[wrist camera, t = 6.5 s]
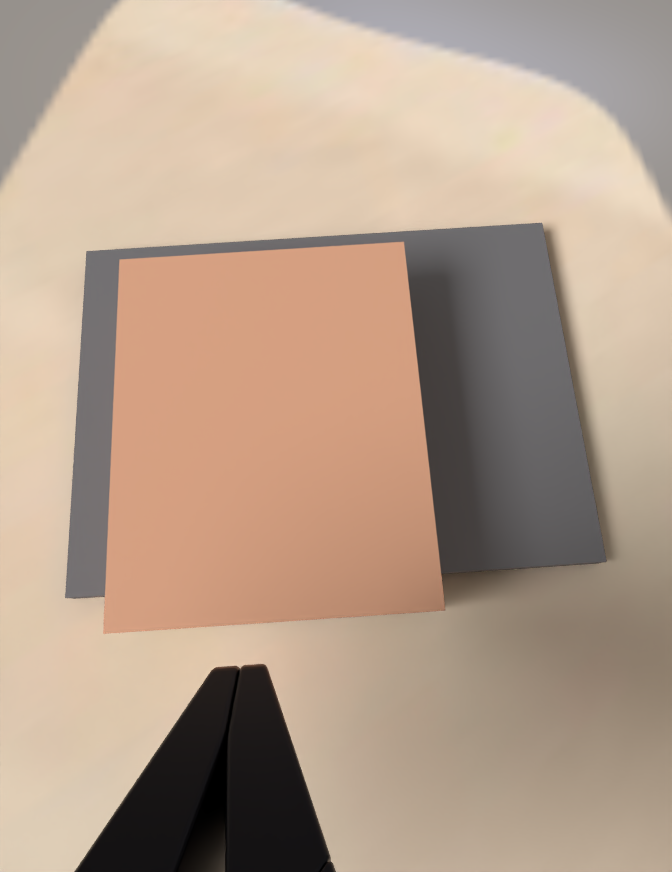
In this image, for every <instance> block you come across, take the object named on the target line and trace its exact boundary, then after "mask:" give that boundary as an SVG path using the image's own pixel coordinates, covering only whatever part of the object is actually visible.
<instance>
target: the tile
mask: <svg viewBox="0 0 672 872" xmlns="http://www.w3.org/2000/svg"><path fill="white" fill-rule="evenodd" d="M444 610H445V603H444V594H443V585H442V577H441V568H440V559H439V550H438V541H437V532H436V523H435V514H434V505H433V496H432V488H431V479H430V470H429V461H428V452H427V443H426V434H425V425H424V416H423V408H422V399H421V390H420V381H419V372H418V363H417V354H416V345H415V336H414V328H413V319H412V310H411V301H410V292H409V283H408V274H407V265H406V256H405V248H404V242H391V243H375V244H359V245H343V246H327V247H312V248H296V249H280V250H264V251H248V252H232V253H216V254H200V255H184V256H168V257H152V258H136V259H120V260H119V283H118V306H117V329H116V352H115V375H114V399H113V422H112V445H111V468H110V491H109V514H108V538H107V561H106V584H105V607H104V630H103V634H106V633H121V632H136V631H151V630H166V629H181V628H195V627H210V626H225V625H239V624H254V623H269V622H284V621H298V620H313V619H328V618H342V617H357V616H372V615H387V614H401V613H416V612H431V611H444Z"/></svg>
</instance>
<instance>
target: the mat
mask: <svg viewBox="0 0 672 872" xmlns="http://www.w3.org/2000/svg"><path fill="white" fill-rule="evenodd" d="M391 242H404V248H405V256H406V265H407V274H408V283H409V292H410V301H411V310H412V319H413V328H414V336H415V345H416V354H417V363H418V372H419V381H420V390H421V399H422V408H423V416H424V425H425V434H426V443H427V452H428V461H429V470H430V479H431V488H432V496H433V505H434V514H435V523H436V532H437V541H438V550H439V559H440V568H441V574H448V573H462V572H477V571H492V570H507V569H522V568H537V567H552V566H566V565H581V564H596V563H602V562H607V561H606V556H605V551H604V546H603V540H602V535H601V530H600V525H599V519H598V514H597V509H596V503H595V498H594V493H593V488H592V482H591V477H590V472H589V467H588V461H587V456H586V451H585V446H584V440H583V435H582V430H581V425H580V419H579V414H578V409H577V404H576V398H575V393H574V388H573V383H572V377H571V372H570V367H569V361H568V356H567V351H566V346H565V340H564V335H563V330H562V325H561V319H560V314H559V309H558V304H557V298H556V293H555V288H554V283H553V277H552V272H551V267H550V262H549V256H548V251H547V246H546V241H545V235H544V230H543V225H542V223H532V224H516V225H500V226H484V227H468V228H452V229H436V230H420V231H404V232H388V233H372V234H356V235H340V236H324V237H308V238H292V239H276V240H260V241H244V242H228V243H212V244H196V245H180V246H163V247H147V248H131V249H115V250H99V251H87V252H86V269H85V285H84V301H83V317H82V334H81V350H80V366H79V382H78V399H77V415H76V431H75V448H74V464H73V480H72V496H71V513H70V529H69V545H68V562H67V578H66V594H65V598H73V599H76V598H91V597H105V584H106V561H107V538H108V514H109V491H110V468H111V445H112V422H113V399H114V375H115V352H116V329H117V306H118V283H119V260H120V259H136V258H152V257H168V256H184V255H200V254H216V253H232V252H248V251H264V250H280V249H296V248H312V247H327V246H343V245H359V244H375V243H391Z"/></svg>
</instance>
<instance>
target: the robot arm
mask: <svg viewBox="0 0 672 872" xmlns="http://www.w3.org/2000/svg"><path fill="white" fill-rule="evenodd" d="M75 872H336V871H335V868H334V865H333V863H332V862H331V857H330V854H329V851H328V848H327V845H326V842H325V839H324V836H323V833H322V830H321V827H320V824H319V821H318V818H317V815H316V812H315V809H314V806H313V803H312V800H311V797H310V794H309V791H308V788H307V785H306V782H305V779H304V776H303V773H302V770H301V767H300V764H299V761H298V758H297V755H296V752H295V749H294V746H293V743H292V740H291V737H290V734H289V731H288V728H287V725H286V722H285V719H284V716H283V713H282V710H281V707H280V704H279V701H278V698H277V695H276V692H275V689H274V686H273V683H272V680H271V677H270V674H269V671H268V669H267V666H266V665H264V664H256V665H244V666H242V667H241V669H240V668H239V667H237V666H227V667H216V668H214V669H213V670H212V671H211V672H210V673H209V675H208V676H207V678H206V679H205V681H204V682H203V684H202V685H201V687H200V688H199V690H198V691H197V693H196V694H195V695H194V697H193V698H192V700H191V701H190V703H189V704H188V706H187V707H186V709H185V710H184V712H183V713H182V715H181V716H180V718H179V719H178V720H177V722H176V723H175V725H174V726H173V728H172V729H171V731H170V732H169V734H168V735H167V737H166V738H165V740H164V741H163V743H162V744H161V745H160V747H159V748H158V750H157V751H156V753H155V754H154V756H153V757H152V759H151V760H150V762H149V763H148V765H147V766H146V767H145V769H144V770H143V772H142V773H141V775H140V776H139V778H138V779H137V781H136V782H135V784H134V785H133V787H132V788H131V790H130V791H129V792H128V794H127V795H126V797H125V798H124V800H123V801H122V803H121V804H120V806H119V807H118V809H117V810H116V812H115V813H114V815H113V816H112V817H111V819H110V820H109V822H108V823H107V825H106V826H105V828H104V829H103V831H102V832H101V834H100V835H99V837H98V838H97V839H96V841H95V842H94V844H93V845H92V847H91V848H90V850H89V851H88V853H87V854H86V856H85V857H84V859H83V860H82V862H81V863H80V864H79V866H78V867H77V869H76V870H75Z"/></svg>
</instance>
